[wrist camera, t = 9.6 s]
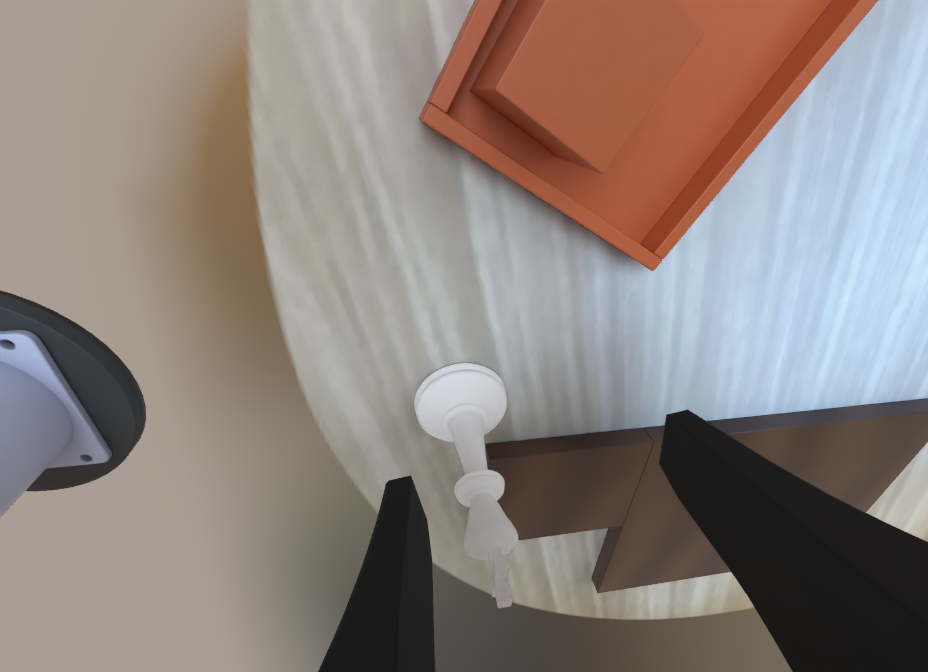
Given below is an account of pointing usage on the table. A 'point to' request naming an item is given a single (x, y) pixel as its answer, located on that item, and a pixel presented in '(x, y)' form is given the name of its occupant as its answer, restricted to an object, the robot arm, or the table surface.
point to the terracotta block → (585, 71)
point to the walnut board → (656, 504)
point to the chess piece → (473, 458)
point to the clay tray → (655, 116)
